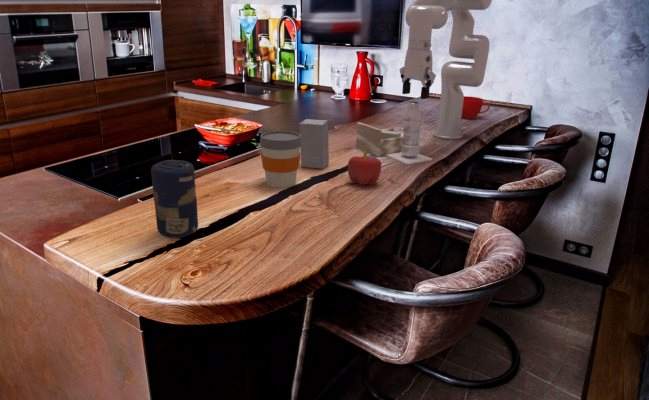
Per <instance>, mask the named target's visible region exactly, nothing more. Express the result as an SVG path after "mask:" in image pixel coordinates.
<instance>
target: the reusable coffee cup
mask: <svg viewBox="0 0 649 400" xmlns="http://www.w3.org/2000/svg"><path fill="white" fill-rule="evenodd" d="M301 145H302V144H301V135H300V133H298V132H296V131H288V130H273V131H266V132H263V133H261V134H260V139H259V147H261V153H260V156H261V164H262V169H263V170H264V173H265V182H266V185H268V186H269V187H272V188H277V189H278V188H280V189H282V188H284V189H285V188H289V187H293V186H294V185H296V180H297V173H298V170H299V167H300V164H301Z"/></svg>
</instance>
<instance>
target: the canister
mask: <svg viewBox="0 0 649 400" xmlns="http://www.w3.org/2000/svg"><path fill="white" fill-rule="evenodd" d="M195 173H196V172H195V167H194V165H193V163H191V162H189V161H187V160H180V159H179V160H178V159H170V160H169V159H168V160H163V161H159V162H156V163H155V164H153V165H152V166H151V169H150V175H151V183H152V184H151V186H152V193H153V194H152V195H153V202H154V211H155V220H156V229H157V232H158V234H160V235H161V236H163V237H167V238H173V239H175V238H177V239H178V238H179V239H180V238H184V237H187V236H190V235H192V234H194V233H195V232H196V231H197V230H198V229H199V228H198V227H199V219H198V218H199V217H198V200H197V192H196V186H197V184H196V179H195Z"/></svg>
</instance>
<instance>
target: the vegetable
mask: <svg viewBox="0 0 649 400" xmlns="http://www.w3.org/2000/svg"><path fill="white" fill-rule="evenodd" d="M362 151H363V156H355V155H354V156H352V157H350V159H349V160H348V163H347V173H348V178H349V179H350V181H351V182H352V183H354V184H360V185H366V184H367V185H374V184H375V183H377V181H378V180H379V178H380V176H381V173H382V162H381V160H380V159H379V158H376V157H375V156H374V157H368V152H367V150H366V149H363V150H362Z"/></svg>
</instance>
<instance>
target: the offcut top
mask: <svg viewBox="0 0 649 400" xmlns="http://www.w3.org/2000/svg"><path fill="white" fill-rule="evenodd" d="M401 133H402V132H401V131H395V130H394V131H386V130H382V134H381V139H390V138H397V137H402V134H401Z"/></svg>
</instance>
